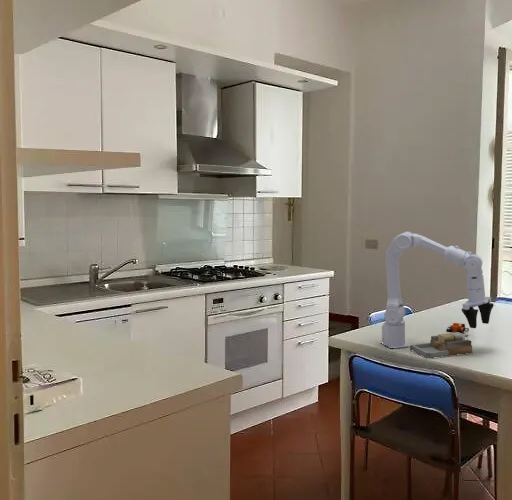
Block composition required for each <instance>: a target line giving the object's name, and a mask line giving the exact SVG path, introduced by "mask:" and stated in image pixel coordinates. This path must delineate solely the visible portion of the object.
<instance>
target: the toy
mask: <svg viewBox="0 0 512 500" xmlns="http://www.w3.org/2000/svg"><path fill="white" fill-rule="evenodd" d="M469 328H470V327H469ZM469 328H468V327H466V324H465V323H461V322H460V323H459V322H453V323H452V324H450V326H448V327H446V330H445V332H446V333H455V332H459V333H462V334H464V333H469V330H470V329H469Z"/></svg>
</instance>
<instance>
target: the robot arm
mask: <svg viewBox="0 0 512 500" xmlns="http://www.w3.org/2000/svg"><path fill="white" fill-rule="evenodd" d="M411 248H412V249H417V248H423V249H427V250H428V251H431V252H434V253H436V254H439V255H442V256H443V258H444V260H445V261H447V262H449V263H452V264H453V265H456V266H458V267H462V268H464V269H465V271H466V276H465V277H466V289H467V298H468V299H467V301H466V302H465V303H462V308H461V313H463V315H464V316H465V318H466V320H467V323H468V325H469V328H471V329H477V317H478V312H479V314H480V318H481V323H482V324H486V325H487V324H489V322H490V317H491V313H492V310H493V308H494V303H493V302H492V301H493V300H492V296H486V292H485V280H484V275H483V272H484V271H483V267H482V266H483V260H482V258H481V256H480V255H478V254H477V253H472V251H466V250H463V249H461V248H460V246H458V245H455V246H454V245H449V246H445V245H443V244H441V243H439V242H436V241H434V240H432V239H430V238H428V237H426V236H423V235H421V234H419V233H414V232H412V231H407V230H406V231H404V232H402V233H399V234H398V235H397V236H395V237H394V238H393V239H392V240H391V243H390V244H389V246H388V248H387V249H386V251H385V253H384V254H385V256H384V257H385V270H386V271H385V272H386V275H385V276H386V289H387V290H386V292H387V293H386V294H387V300H386V301H387V302H386V308H385V312H384V319H385V321H383V324H382V325H381V341H380V342H381V343H382V342H383V344H384V345H383V344H382V345H383V346H385V345H386V346H385V347H387V346H388V347H387V348H388V349H390V348H394V349H401V348H402V349H403V348H410V345H411V344H408V343H406V321H405V320H404V317H405V316H406V308H405V306H404V304H403V303H404V302H403V299H402V292H401V289H402V288H401V272H400V257H401V256H402V254H403V253H405V251H407V250H409V249H411ZM476 307H477V308H478V309H475V308H476ZM381 343H380V344H381Z"/></svg>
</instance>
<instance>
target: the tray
mask: <svg viewBox="0 0 512 500" xmlns="http://www.w3.org/2000/svg"><path fill="white" fill-rule="evenodd" d="M409 345H410V347H409V349H411V350H413V351H414V352H413V351H412V352H413V353H415V352H416V353H415V354H417V353H418V354H417V355H419V354H420V355H419V356H421V355H422V356H421V357H423V356H424V357H423V358H425V357H426V358H425V359H427V358H432V359H435V358H434V357H440V358H442V357H441V356H448V357H450V356H449V351H448V350H445V351H440V350H437V349H435V348H433V347H432V343H430V342H425V343H416V344H409ZM411 350H410V351H411Z"/></svg>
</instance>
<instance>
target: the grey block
mask: <svg viewBox="0 0 512 500" xmlns="http://www.w3.org/2000/svg"><path fill="white" fill-rule="evenodd" d="M448 334H451V335H453V336H454V341H460V340H466V334H464V333H459V332H455V333H453V332H448Z"/></svg>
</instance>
